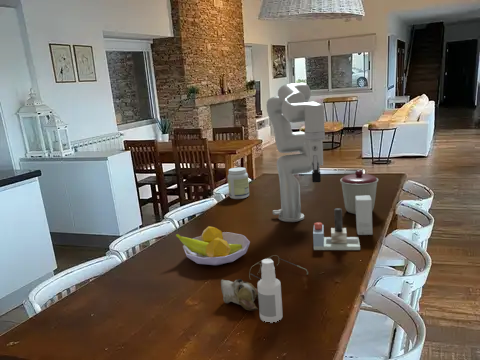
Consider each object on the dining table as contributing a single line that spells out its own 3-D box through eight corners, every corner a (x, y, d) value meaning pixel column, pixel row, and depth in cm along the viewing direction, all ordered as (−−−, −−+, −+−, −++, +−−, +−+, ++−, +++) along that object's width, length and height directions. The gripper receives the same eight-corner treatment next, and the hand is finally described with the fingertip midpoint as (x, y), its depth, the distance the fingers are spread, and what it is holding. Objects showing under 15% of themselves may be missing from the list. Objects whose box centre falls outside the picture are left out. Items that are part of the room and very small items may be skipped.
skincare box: (372, 235, 183) (372, 200, 179) (356, 235, 184) (356, 200, 181) (370, 228, 191) (370, 194, 187) (355, 228, 192) (355, 195, 188)
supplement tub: (253, 194, 260) (251, 167, 256) (242, 200, 250) (240, 172, 246) (236, 193, 266) (234, 166, 262) (225, 198, 256) (222, 170, 252)
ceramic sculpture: (228, 268, 142) (270, 276, 136) (229, 291, 145) (270, 301, 138) (212, 282, 133) (256, 293, 127) (213, 307, 135) (257, 318, 129)
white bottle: (258, 312, 131) (254, 257, 126) (280, 309, 131) (277, 255, 127) (261, 324, 124) (257, 267, 120) (284, 322, 124) (281, 264, 120)
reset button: (314, 229, 174) (314, 225, 174) (314, 226, 177) (314, 222, 177) (322, 229, 174) (322, 225, 173) (322, 226, 177) (322, 222, 176)
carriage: (331, 243, 173) (330, 211, 170) (331, 238, 179) (330, 207, 175) (346, 243, 172) (346, 211, 168) (346, 238, 177) (345, 206, 174)
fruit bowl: (258, 246, 181) (256, 221, 178) (236, 275, 156) (234, 246, 154) (197, 242, 190) (194, 218, 188) (168, 269, 166) (164, 242, 163)
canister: (338, 216, 210) (336, 174, 205) (343, 205, 226) (343, 166, 221) (376, 218, 203) (376, 174, 198) (380, 206, 219) (379, 166, 214)
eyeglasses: (276, 264, 163) (275, 252, 162) (308, 275, 153) (307, 262, 151) (246, 280, 152) (245, 267, 151) (278, 293, 142) (277, 279, 141)
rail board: (313, 249, 173) (313, 233, 171) (314, 240, 182) (313, 224, 181) (360, 250, 169) (359, 233, 167) (358, 240, 179) (358, 224, 177)
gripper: (324, 138, 159) (326, 186, 163) (324, 132, 173) (326, 177, 177) (304, 139, 160) (306, 187, 165) (306, 133, 174) (307, 177, 179)
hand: (316, 181), depth 171 cm, fingers closed
